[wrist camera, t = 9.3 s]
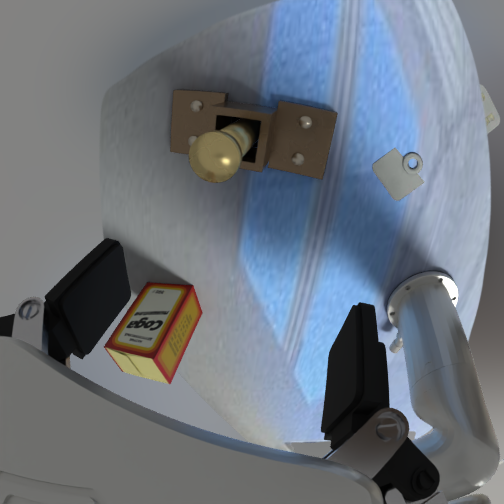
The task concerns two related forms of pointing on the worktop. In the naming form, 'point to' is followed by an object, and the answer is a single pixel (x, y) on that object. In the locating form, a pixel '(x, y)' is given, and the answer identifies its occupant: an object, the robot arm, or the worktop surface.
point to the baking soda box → (155, 331)
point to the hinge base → (271, 131)
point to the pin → (223, 150)
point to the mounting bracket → (419, 159)
